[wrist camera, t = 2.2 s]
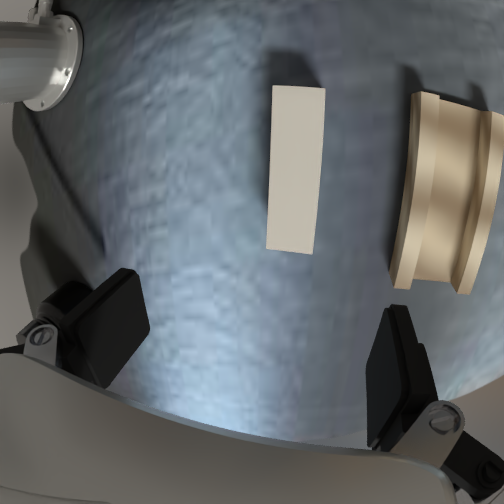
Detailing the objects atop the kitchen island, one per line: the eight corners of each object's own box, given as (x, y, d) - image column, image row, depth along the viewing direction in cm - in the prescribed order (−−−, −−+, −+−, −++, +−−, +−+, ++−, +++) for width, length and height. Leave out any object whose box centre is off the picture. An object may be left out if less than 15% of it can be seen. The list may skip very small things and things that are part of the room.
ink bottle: (75, 324, 41) (30, 370, 31) (55, 277, 38) (1, 320, 27) (118, 335, 39) (70, 391, 28) (98, 282, 35) (37, 335, 25)
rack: (411, 94, 19) (421, 91, 16) (489, 115, 17) (505, 116, 15) (388, 272, 26) (393, 287, 23) (459, 279, 24) (469, 294, 22)
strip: (281, 91, 22) (272, 85, 18) (325, 94, 21) (325, 88, 17) (275, 228, 27) (266, 248, 23) (314, 232, 26) (312, 254, 22)
